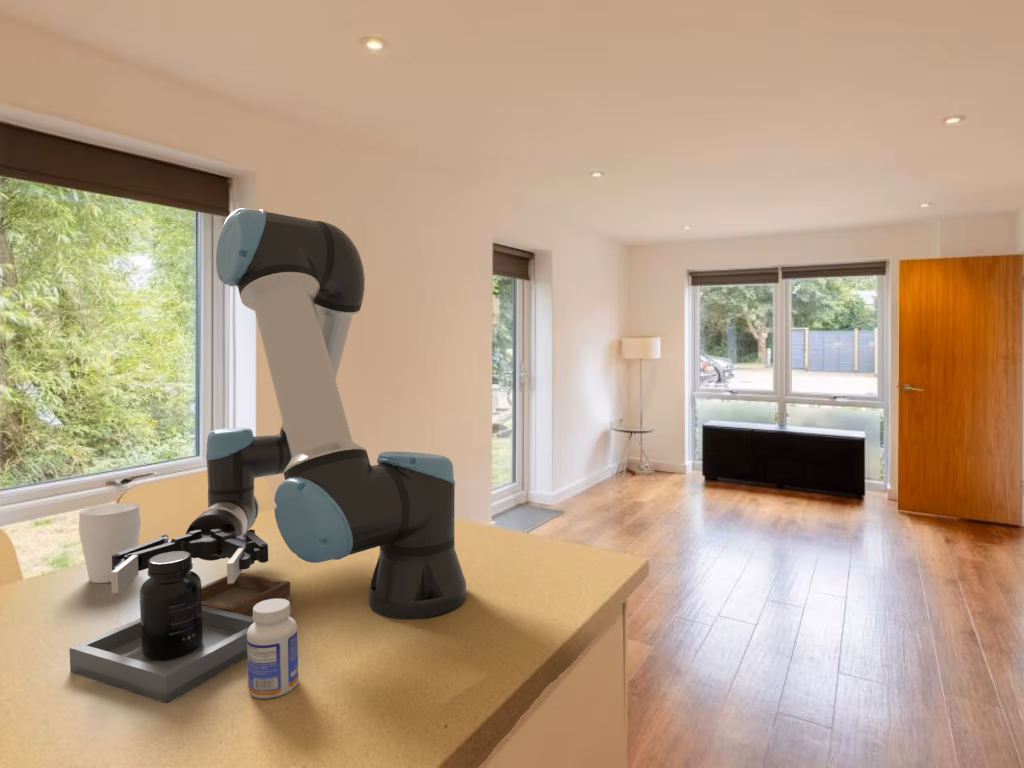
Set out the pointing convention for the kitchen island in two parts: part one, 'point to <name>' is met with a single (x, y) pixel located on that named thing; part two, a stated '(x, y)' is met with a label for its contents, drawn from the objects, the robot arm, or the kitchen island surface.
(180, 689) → the tray
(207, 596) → the bottle holder
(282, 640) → the pill bottle
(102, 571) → the cup
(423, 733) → the kitchen island surface
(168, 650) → the supplement bottle
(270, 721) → the kitchen island surface
